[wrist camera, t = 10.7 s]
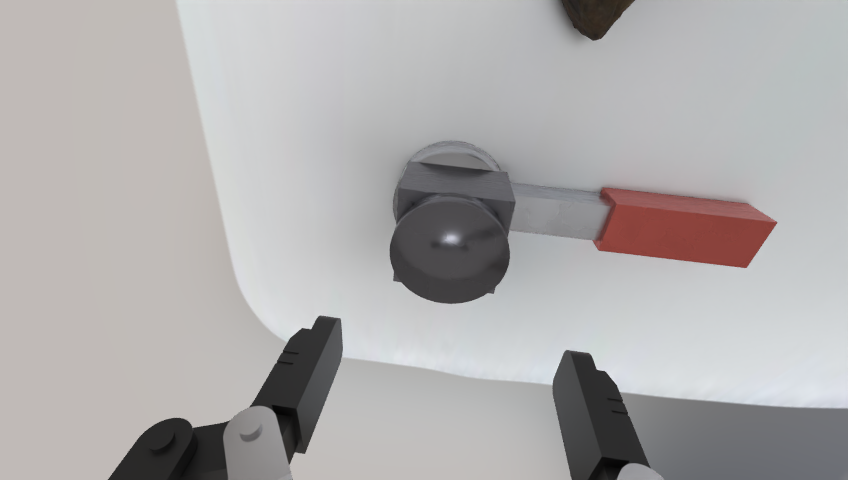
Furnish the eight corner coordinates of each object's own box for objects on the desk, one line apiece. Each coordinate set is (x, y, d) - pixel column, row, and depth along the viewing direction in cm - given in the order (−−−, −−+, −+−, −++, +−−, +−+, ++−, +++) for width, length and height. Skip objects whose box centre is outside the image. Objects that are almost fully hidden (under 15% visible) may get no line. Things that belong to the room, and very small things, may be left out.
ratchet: (765, 175, 21) (859, 222, 16) (707, 269, 25) (769, 331, 20) (401, 134, 22) (383, 167, 17) (396, 231, 26) (380, 283, 21)
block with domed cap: (509, 170, 20) (522, 211, 16) (490, 255, 23) (496, 310, 19) (407, 159, 20) (391, 196, 16) (402, 244, 23) (387, 295, 19)
